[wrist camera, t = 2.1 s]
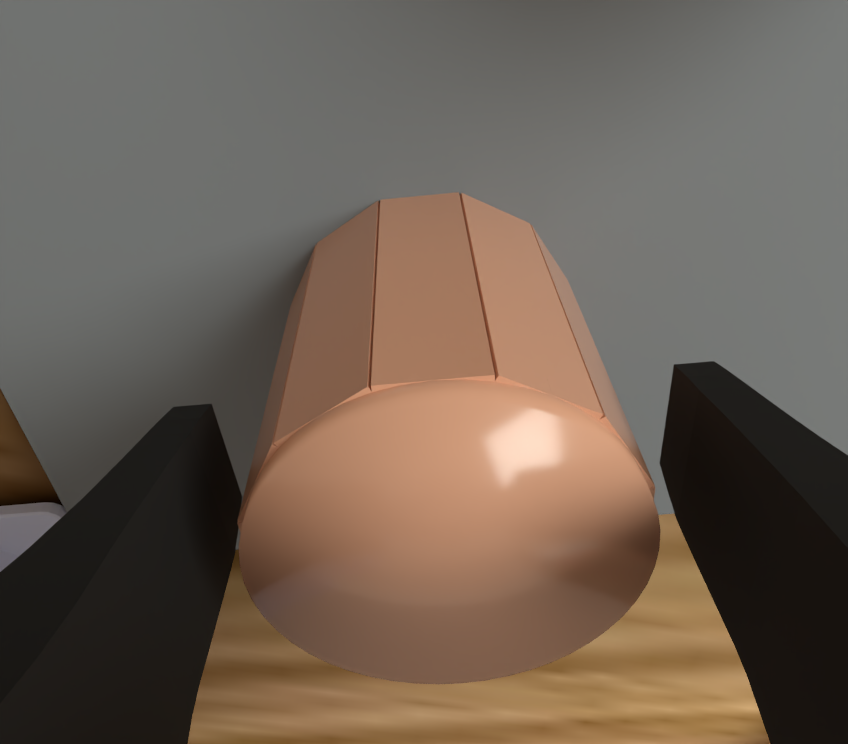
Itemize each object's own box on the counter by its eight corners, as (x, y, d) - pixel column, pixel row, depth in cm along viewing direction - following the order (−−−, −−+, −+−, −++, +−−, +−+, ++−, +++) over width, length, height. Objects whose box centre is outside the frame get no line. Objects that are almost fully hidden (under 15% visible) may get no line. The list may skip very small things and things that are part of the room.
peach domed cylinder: (563, 419, 16) (640, 669, 11) (320, 440, 16) (285, 696, 11) (572, 181, 12) (685, 380, 8) (268, 210, 13) (186, 423, 8)
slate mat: (889, 483, 18) (906, 503, 17) (98, 548, 18) (88, 571, 18) (1808, -1783, 5) (1992, -1998, 4) (-904, -1372, 5) (-1053, -1515, 5)
